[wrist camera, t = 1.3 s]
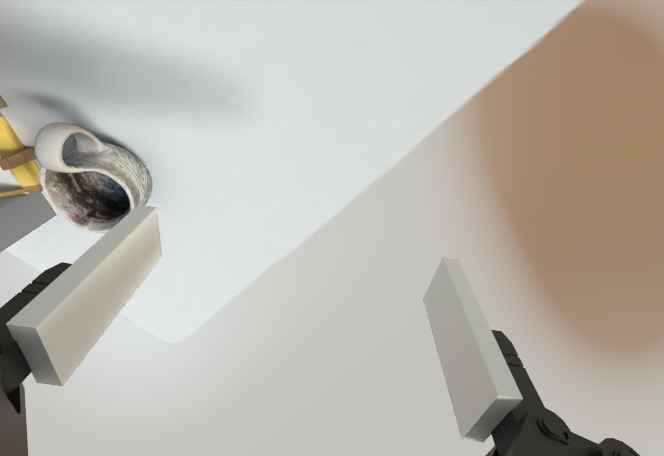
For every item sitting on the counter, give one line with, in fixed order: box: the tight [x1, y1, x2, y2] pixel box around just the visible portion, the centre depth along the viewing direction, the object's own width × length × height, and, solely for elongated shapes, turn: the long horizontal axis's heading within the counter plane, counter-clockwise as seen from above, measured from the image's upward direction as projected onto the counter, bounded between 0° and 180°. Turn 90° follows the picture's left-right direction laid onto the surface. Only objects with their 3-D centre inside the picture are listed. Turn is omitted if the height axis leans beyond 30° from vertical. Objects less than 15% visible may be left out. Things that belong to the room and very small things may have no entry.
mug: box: [35, 123, 152, 233], centre depth 36 cm, size 10×12×10 cm
